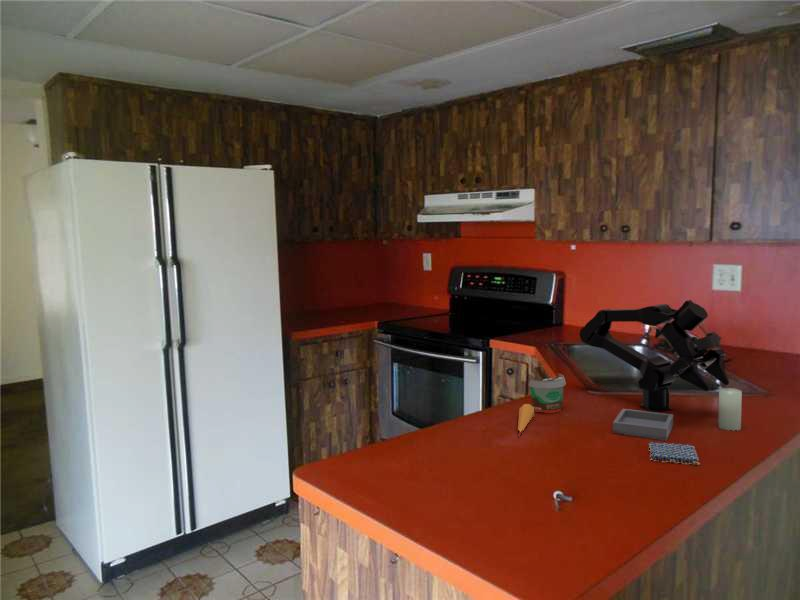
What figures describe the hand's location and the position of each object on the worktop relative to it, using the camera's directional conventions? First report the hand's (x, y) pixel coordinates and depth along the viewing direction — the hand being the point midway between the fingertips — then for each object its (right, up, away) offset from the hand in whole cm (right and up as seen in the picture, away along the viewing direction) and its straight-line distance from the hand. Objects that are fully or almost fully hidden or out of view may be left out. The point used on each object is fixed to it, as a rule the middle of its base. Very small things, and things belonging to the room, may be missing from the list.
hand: (718, 387), depth 157 cm
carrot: (-51, -12, +6) cm, 53 cm away
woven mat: (-21, -14, -18) cm, 31 cm away
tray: (-20, -11, 0) cm, 23 cm away
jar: (+2, -10, -2) cm, 11 cm away
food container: (-40, -10, +18) cm, 45 cm away
